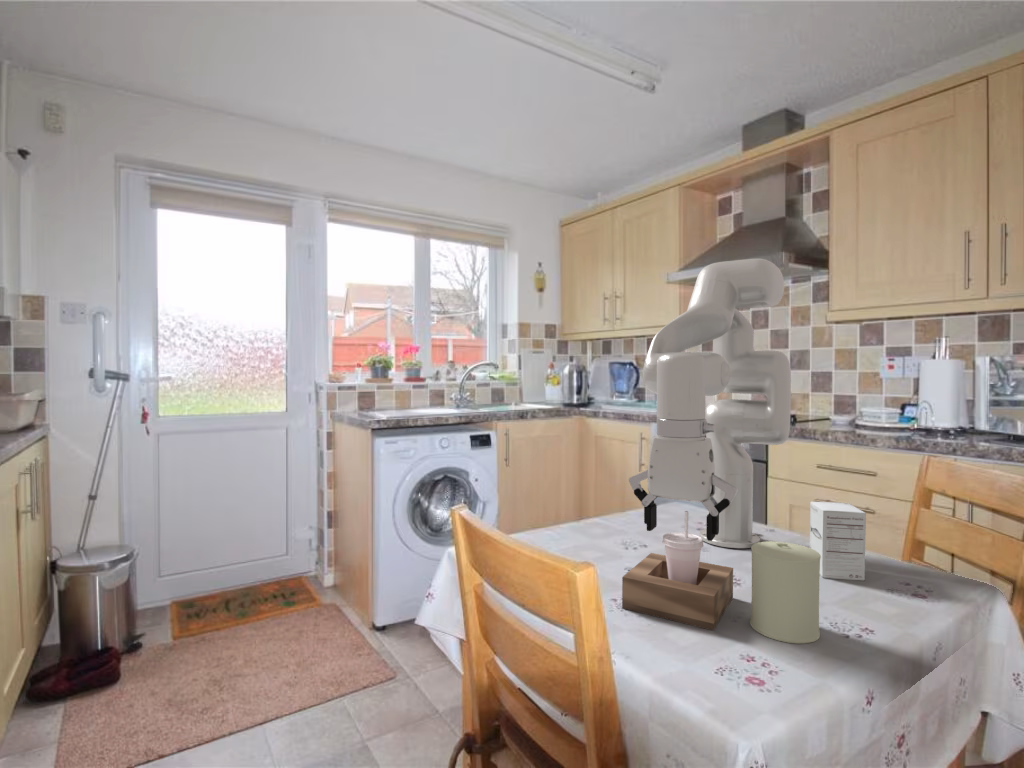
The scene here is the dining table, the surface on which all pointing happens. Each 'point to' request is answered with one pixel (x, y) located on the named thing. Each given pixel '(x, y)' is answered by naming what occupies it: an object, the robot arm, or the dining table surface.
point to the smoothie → (683, 555)
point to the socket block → (678, 592)
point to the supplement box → (838, 539)
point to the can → (785, 592)
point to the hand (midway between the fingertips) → (680, 533)
